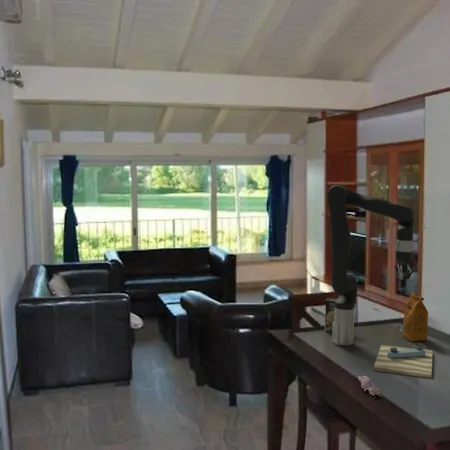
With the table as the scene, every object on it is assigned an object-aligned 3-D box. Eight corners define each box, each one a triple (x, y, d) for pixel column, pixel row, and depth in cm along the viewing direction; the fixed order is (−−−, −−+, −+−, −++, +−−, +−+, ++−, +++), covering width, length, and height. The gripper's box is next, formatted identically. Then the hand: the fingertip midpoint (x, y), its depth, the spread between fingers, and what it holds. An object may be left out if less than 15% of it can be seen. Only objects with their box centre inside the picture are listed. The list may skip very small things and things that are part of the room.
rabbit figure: (384, 401, 197) (367, 379, 211) (386, 387, 196) (369, 366, 210) (368, 403, 196) (352, 380, 210) (370, 388, 195) (353, 367, 209)
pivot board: (431, 378, 216) (431, 364, 215) (373, 370, 224) (374, 357, 224) (432, 354, 244) (432, 342, 244) (381, 347, 252) (381, 336, 252)
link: (390, 358, 232) (391, 354, 232) (385, 354, 237) (385, 350, 237) (425, 356, 236) (426, 351, 235) (419, 352, 241) (419, 347, 240)
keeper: (417, 355, 237) (418, 346, 237) (410, 351, 243) (410, 342, 243) (426, 355, 238) (426, 346, 238) (418, 350, 244) (418, 341, 244)
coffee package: (419, 334, 273) (421, 291, 271) (429, 342, 261) (431, 297, 258) (399, 334, 273) (401, 291, 270) (409, 342, 260) (410, 297, 258)
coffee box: (324, 331, 278) (324, 300, 277) (326, 327, 284) (326, 297, 283) (342, 332, 275) (343, 301, 274) (343, 329, 281) (344, 299, 280)
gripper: (389, 248, 252) (388, 284, 254) (403, 252, 239) (402, 290, 241) (404, 247, 253) (403, 284, 255) (419, 251, 240) (418, 290, 242)
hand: (402, 287), depth 248 cm, fingers closed
